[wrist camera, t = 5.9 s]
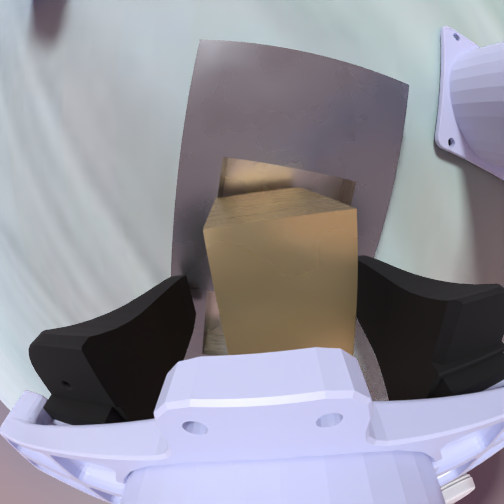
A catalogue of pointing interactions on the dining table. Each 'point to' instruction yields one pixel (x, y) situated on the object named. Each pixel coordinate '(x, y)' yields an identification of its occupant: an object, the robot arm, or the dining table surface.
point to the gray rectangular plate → (279, 149)
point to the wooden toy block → (284, 270)
